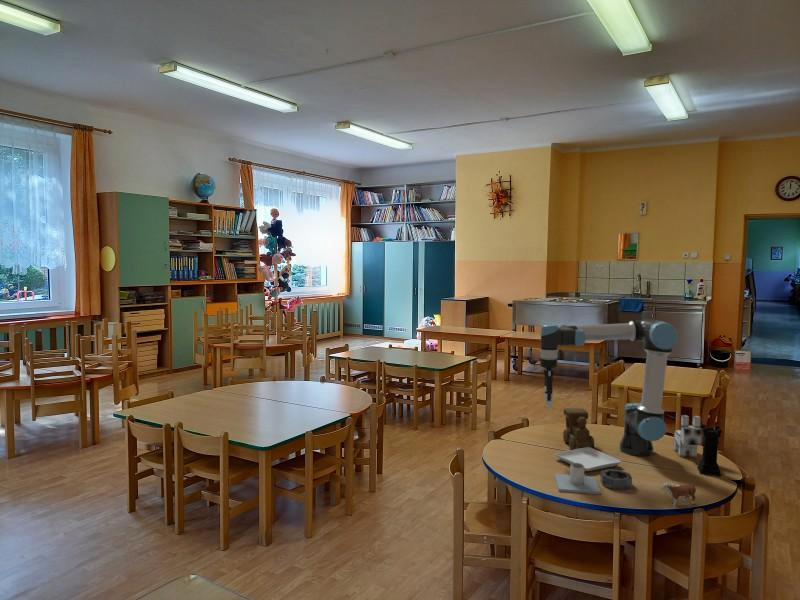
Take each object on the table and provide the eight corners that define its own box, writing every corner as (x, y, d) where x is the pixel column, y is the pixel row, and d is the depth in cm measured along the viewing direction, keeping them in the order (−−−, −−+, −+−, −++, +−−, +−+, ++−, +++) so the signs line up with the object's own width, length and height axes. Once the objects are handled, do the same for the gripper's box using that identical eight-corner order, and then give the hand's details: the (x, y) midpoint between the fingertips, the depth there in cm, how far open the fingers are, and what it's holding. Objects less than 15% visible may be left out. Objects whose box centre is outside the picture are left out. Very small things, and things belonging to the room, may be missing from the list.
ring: (627, 479, 242) (627, 470, 242) (633, 490, 231) (634, 481, 230) (598, 477, 244) (599, 468, 244) (603, 488, 233) (604, 478, 232)
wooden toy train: (560, 439, 295) (561, 407, 294) (583, 439, 295) (584, 407, 294) (572, 452, 275) (573, 418, 274) (596, 453, 275) (597, 418, 274)
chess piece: (717, 469, 254) (719, 425, 253) (721, 476, 247) (723, 430, 245) (697, 467, 257) (699, 423, 255) (700, 474, 249) (702, 428, 248)
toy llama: (688, 449, 282) (690, 408, 280) (700, 461, 265) (702, 418, 263) (671, 448, 283) (673, 408, 282) (682, 460, 266) (684, 417, 264)
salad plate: (586, 475, 247) (586, 467, 247) (553, 459, 266) (553, 452, 266) (622, 468, 256) (622, 460, 256) (588, 453, 275) (588, 446, 275)
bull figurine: (658, 501, 221) (659, 480, 220) (692, 500, 222) (693, 479, 221) (664, 506, 217) (665, 485, 216) (698, 505, 218) (699, 484, 217)
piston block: (593, 479, 243) (594, 459, 242) (600, 494, 227) (601, 473, 226) (554, 476, 245) (555, 456, 245) (558, 491, 230) (559, 470, 229)
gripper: (539, 353, 277) (538, 396, 279) (541, 362, 253) (540, 410, 254) (555, 354, 275) (554, 397, 277) (559, 363, 251) (558, 411, 253)
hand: (547, 403), depth 266 cm, fingers open, 13 cm apart
